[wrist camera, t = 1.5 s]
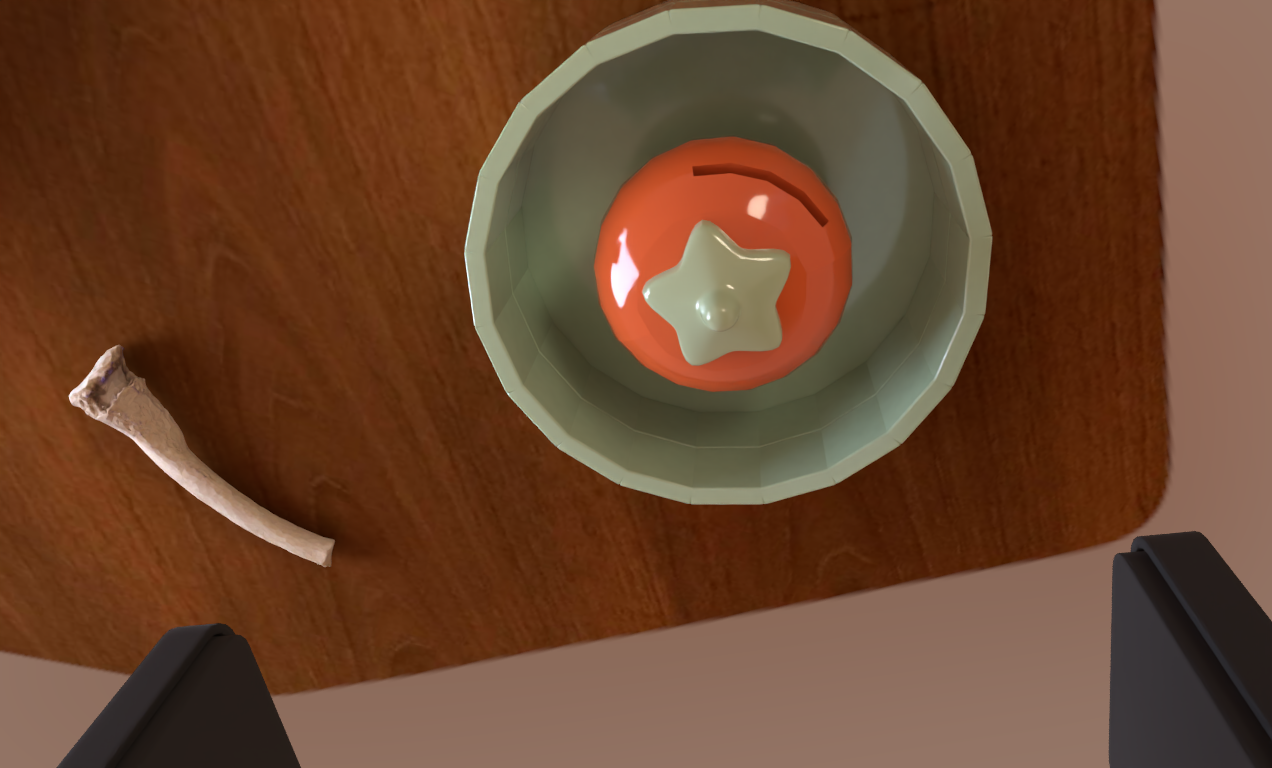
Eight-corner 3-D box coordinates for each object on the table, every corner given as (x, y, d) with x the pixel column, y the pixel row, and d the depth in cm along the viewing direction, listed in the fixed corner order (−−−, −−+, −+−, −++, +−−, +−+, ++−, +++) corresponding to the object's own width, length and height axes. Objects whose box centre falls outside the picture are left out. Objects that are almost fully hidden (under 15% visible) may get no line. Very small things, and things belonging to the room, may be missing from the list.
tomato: (882, 165, 30) (927, 241, 23) (782, 368, 33) (795, 491, 26) (657, 75, 30) (632, 123, 22) (578, 289, 33) (533, 392, 26)
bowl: (879, -88, 28) (910, -91, 23) (996, 351, 33) (1042, 428, 28) (435, 96, 31) (377, 128, 26) (605, 468, 36) (583, 555, 31)
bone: (309, 578, 39) (287, 611, 38) (84, 375, 36) (49, 399, 34) (351, 546, 39) (331, 578, 37) (125, 335, 36) (91, 358, 34)
